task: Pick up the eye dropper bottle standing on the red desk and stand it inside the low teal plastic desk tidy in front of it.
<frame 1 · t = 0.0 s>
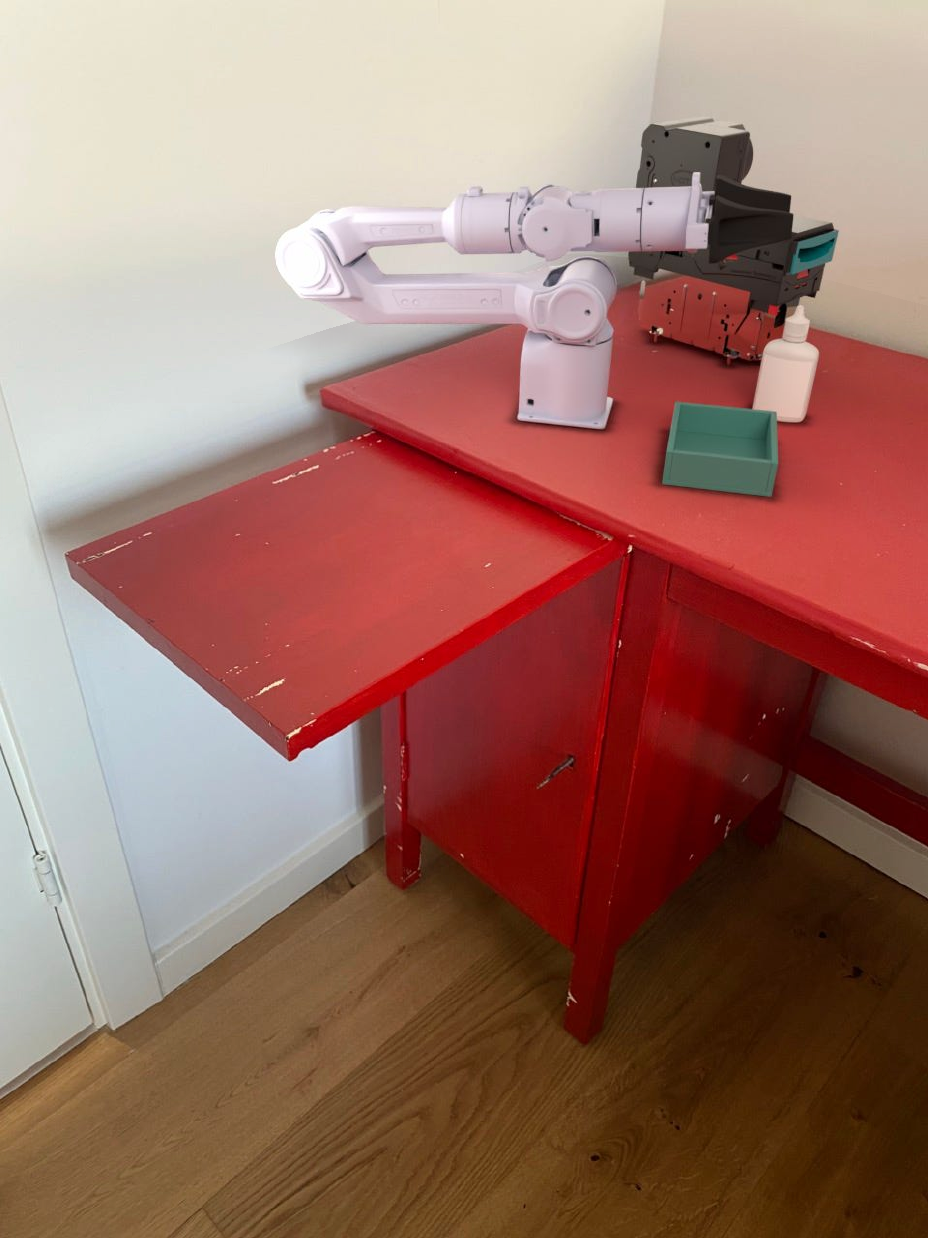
hand: (791, 216, 91), 22 cm above the table, tool horizontal, fingers open, 7 cm apart
bill acceptor: (711, 345, 125), on the table
eye dropper bottle: (777, 417, 107), on the table
desk tidy: (718, 462, 97), on the table
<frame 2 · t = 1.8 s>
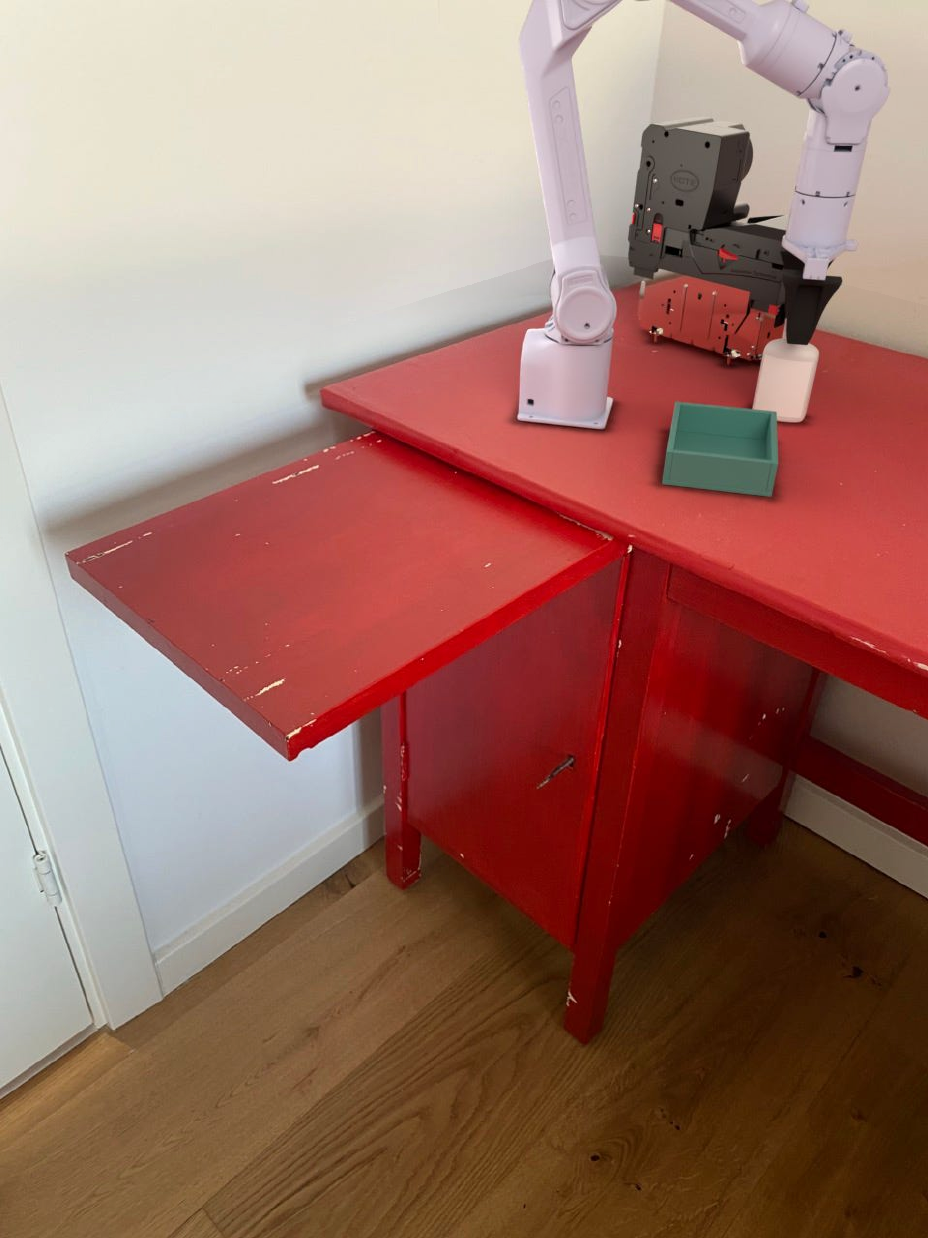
hand: (796, 330, 101), 9 cm above the table, tool pointing down, fingers open, 7 cm apart
nothing on the table moved.
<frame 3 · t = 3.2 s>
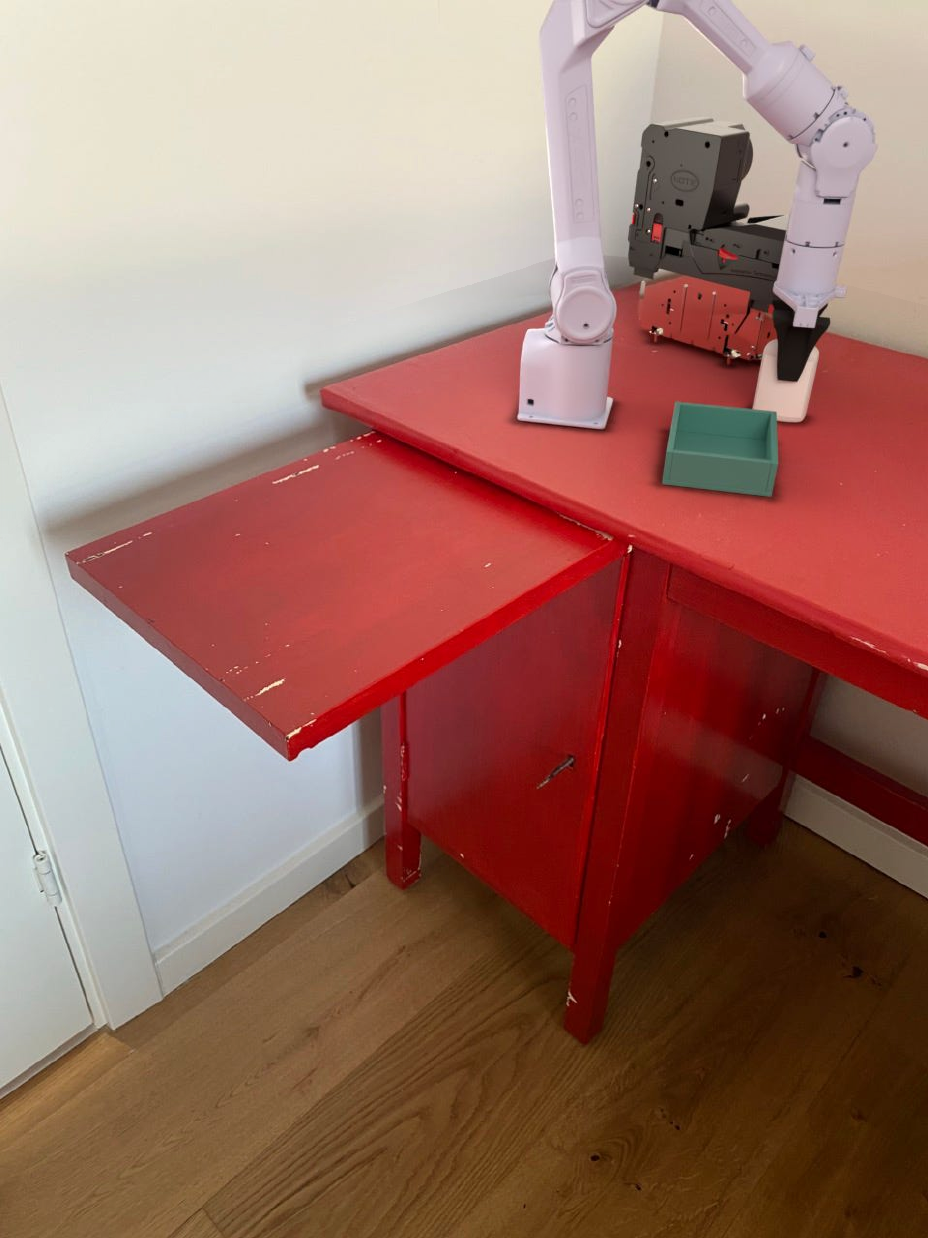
hand: (787, 372, 104), 5 cm above the table, tool pointing down, fingers closed on eye dropper bottle, 3 cm apart
eye dropper bottle: (777, 417, 107), on the table, touching gripper
everything else where it was.
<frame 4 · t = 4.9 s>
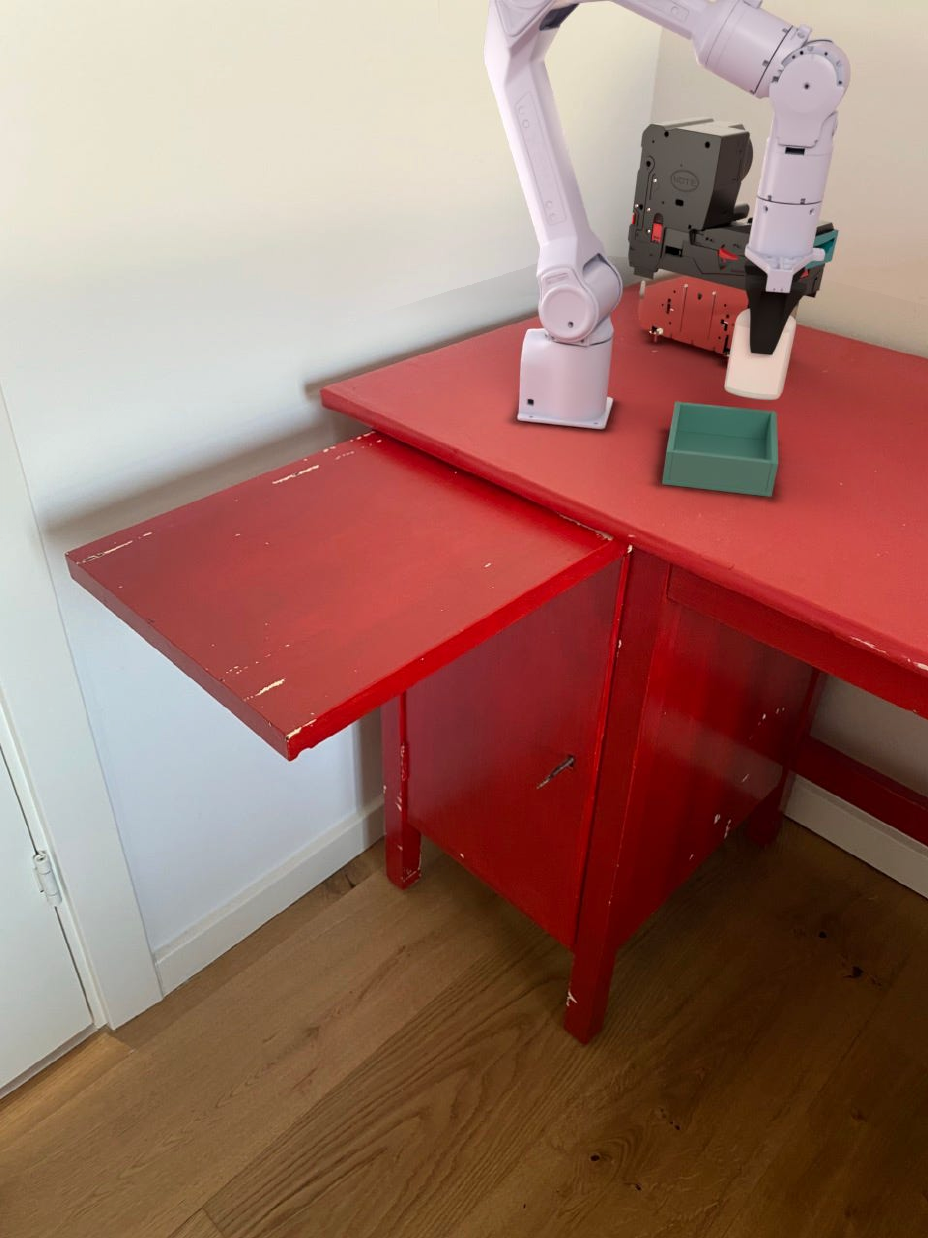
hand: (761, 345, 95), 10 cm above the table, tool pointing down, fingers closed on eye dropper bottle, 3 cm apart
eye dropper bottle: (752, 394, 98), point 5 cm above the table, touching gripper
everything else where it was.
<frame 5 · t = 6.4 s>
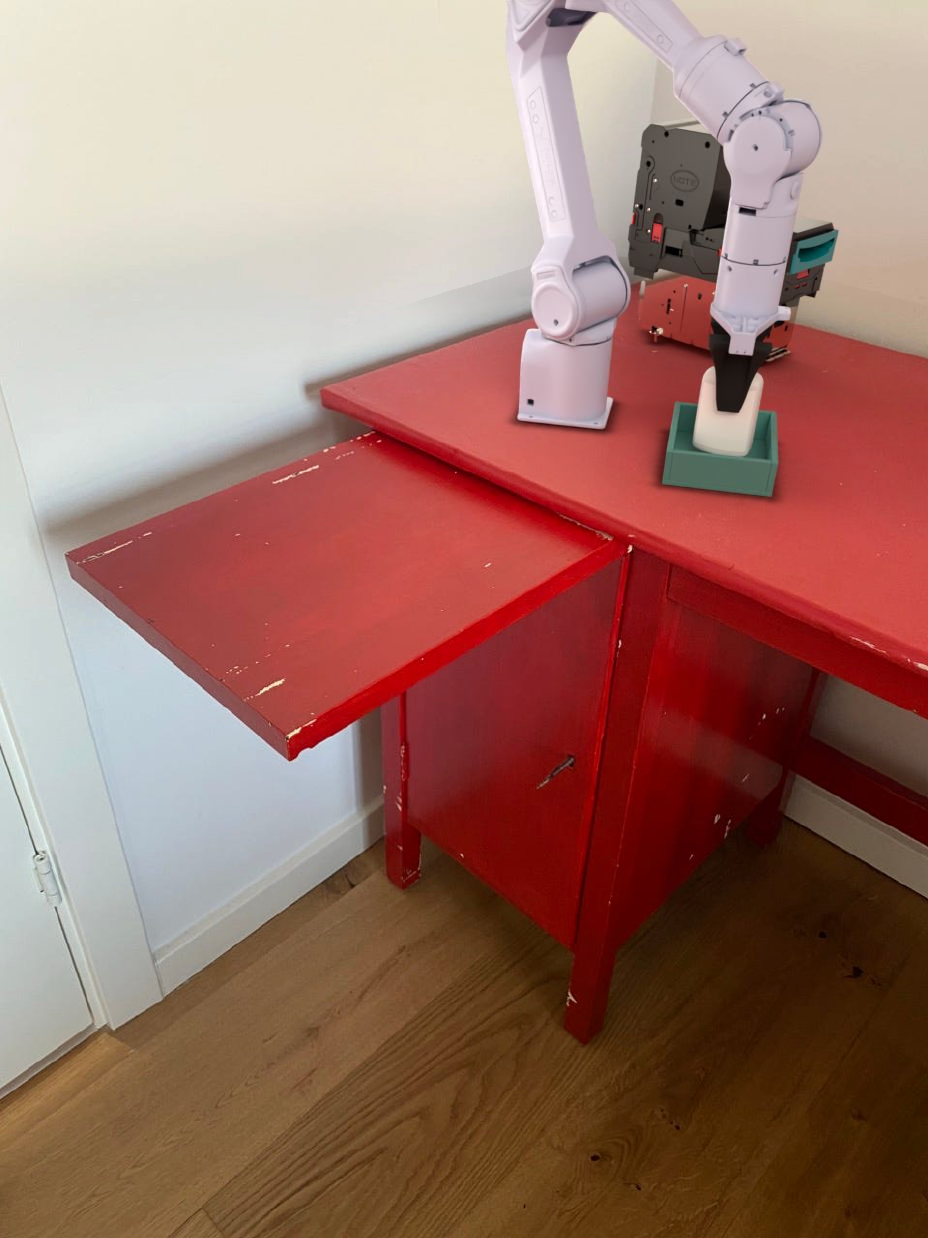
hand: (728, 402, 94), 6 cm above the table, tool pointing down, fingers closed on eye dropper bottle, 3 cm apart
eye dropper bottle: (720, 450, 97), point 1 cm above the table, touching gripper
everything else where it was.
when the fingers open (5 cm above the table, at t = 7.1 s): eye dropper bottle stays where it is, resting on desk tidy.
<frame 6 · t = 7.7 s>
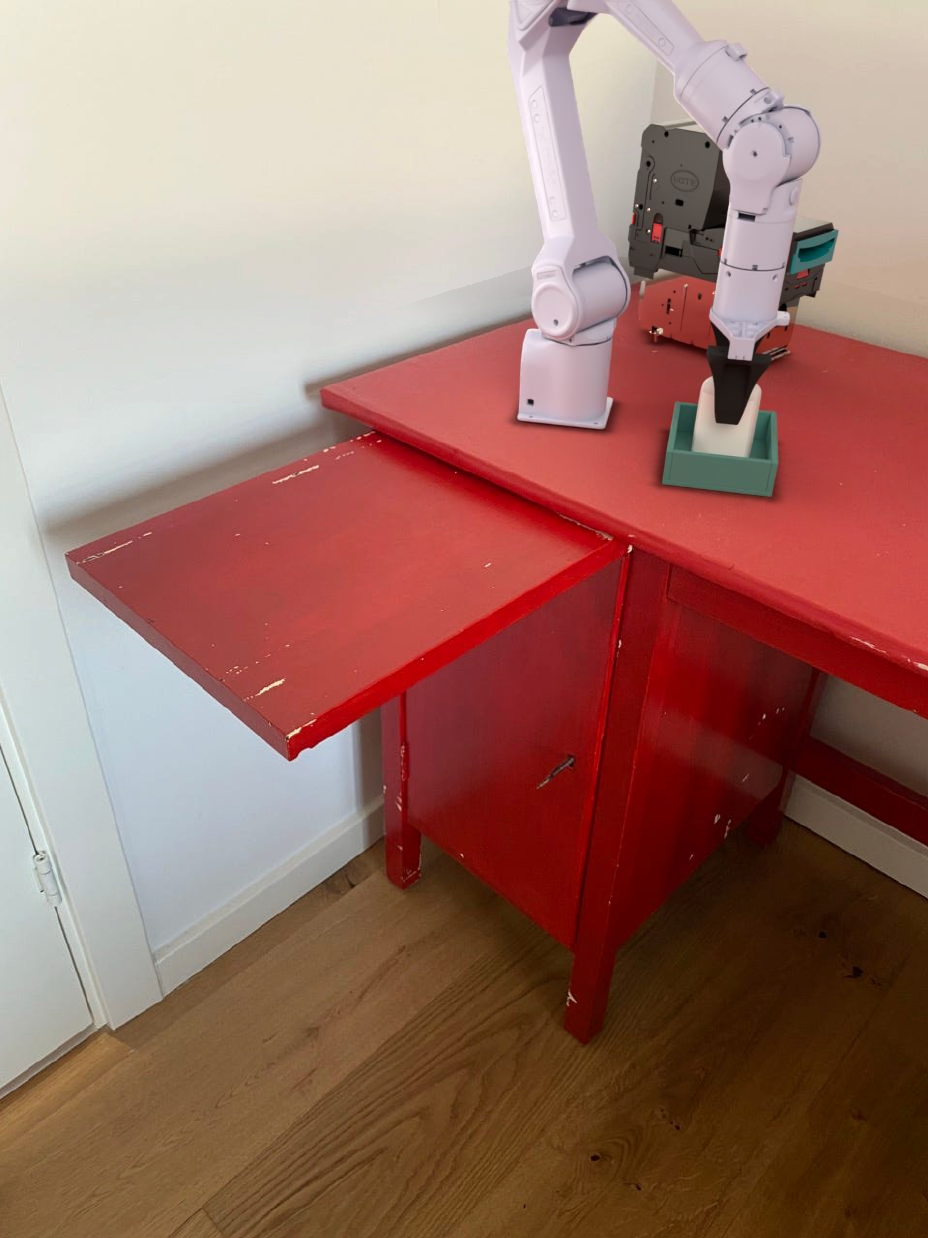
hand: (727, 406, 94), 6 cm above the table, tool pointing down, fingers open, 7 cm apart
eye dropper bottle: (719, 459, 97), resting on desk tidy
everything else where it was.
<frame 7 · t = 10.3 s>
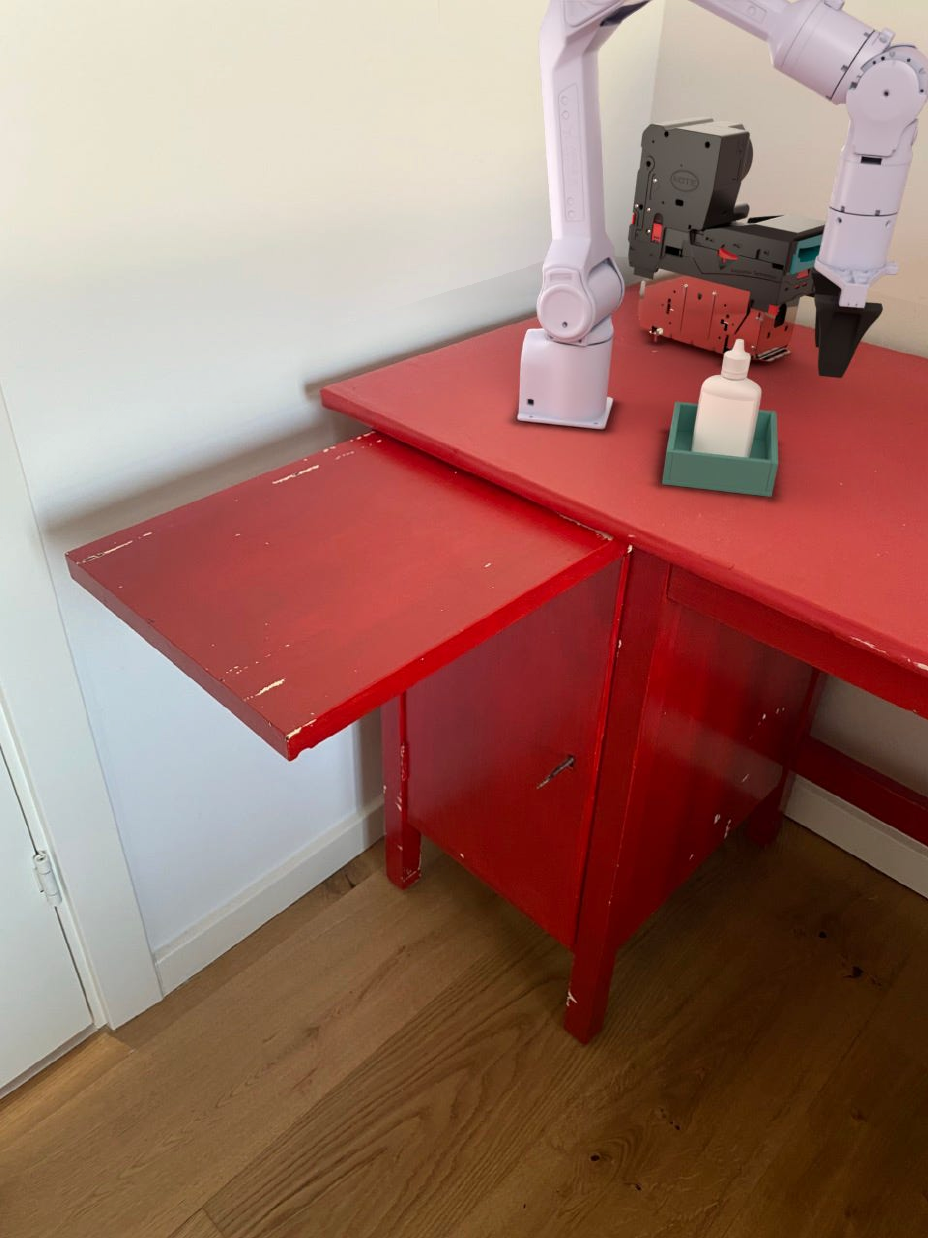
hand: (828, 360, 92), 10 cm above the table, tool pointing down, fingers open, 7 cm apart
nothing on the table moved.
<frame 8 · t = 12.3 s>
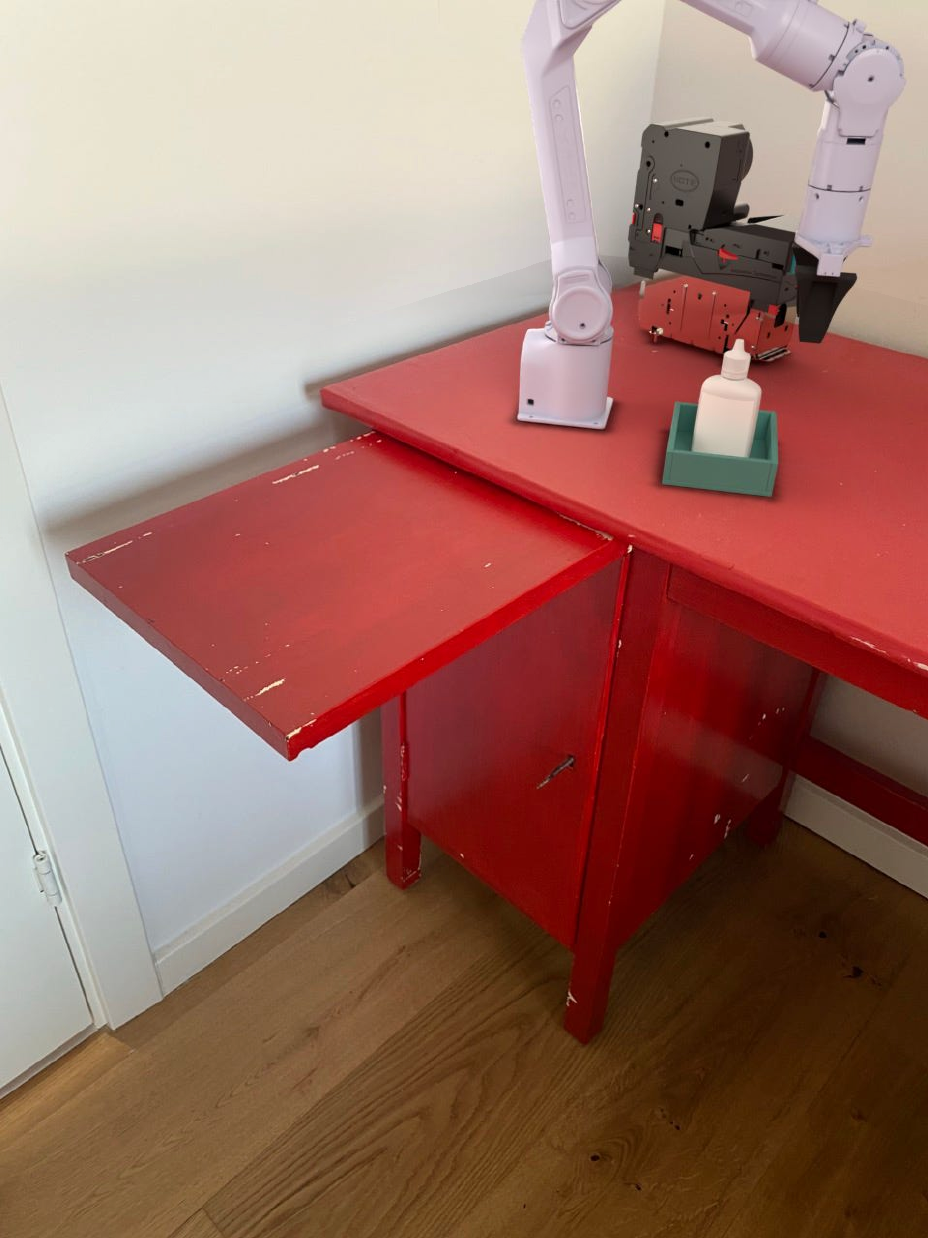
hand: (808, 328, 99), 10 cm above the table, tool pointing down, fingers open, 7 cm apart
nothing on the table moved.
at the end: eye dropper bottle inside the target area in the desk tidy (0.0 cm from its centre), point 0.3 cm above the desk tidy's base; the gripper is holding nothing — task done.
